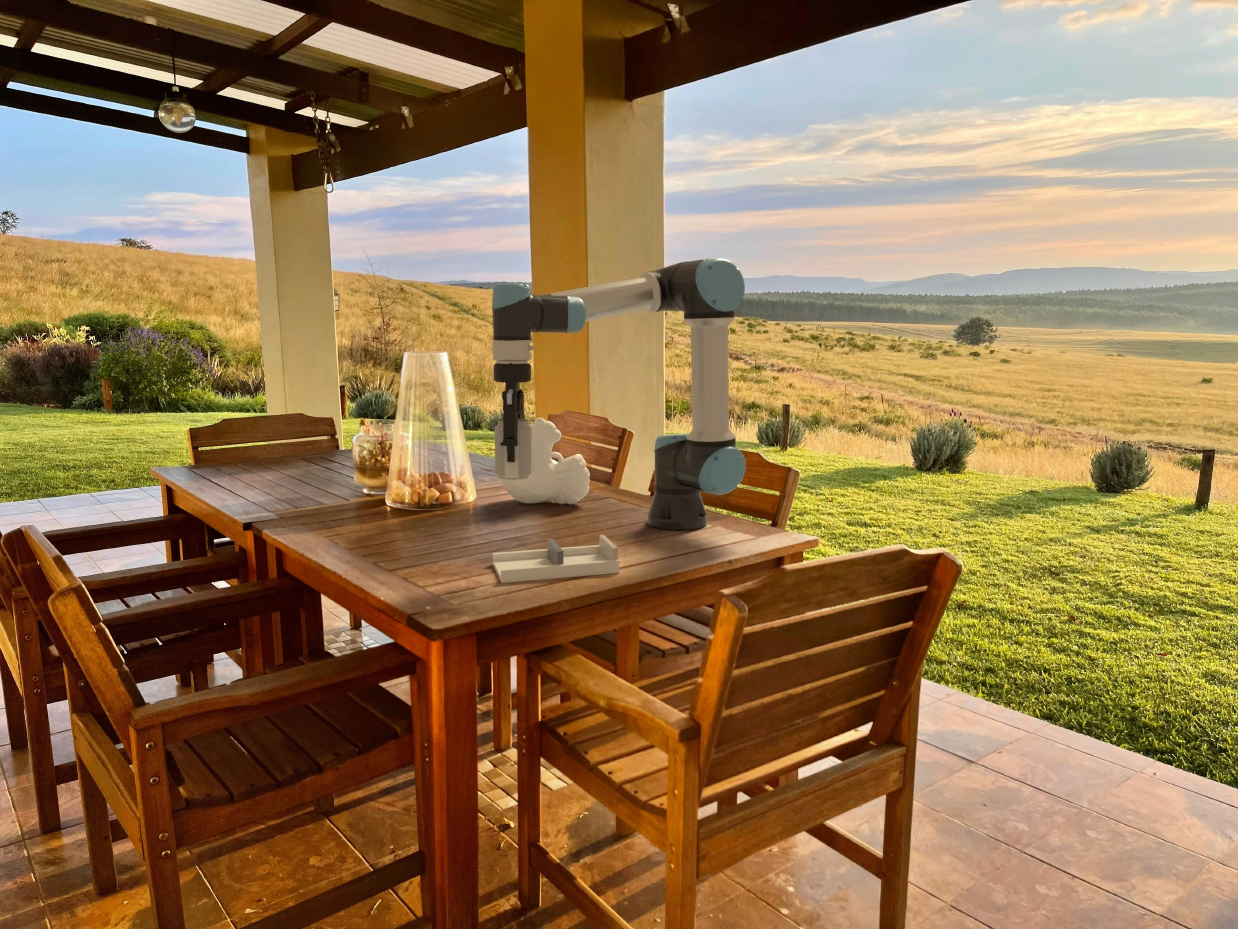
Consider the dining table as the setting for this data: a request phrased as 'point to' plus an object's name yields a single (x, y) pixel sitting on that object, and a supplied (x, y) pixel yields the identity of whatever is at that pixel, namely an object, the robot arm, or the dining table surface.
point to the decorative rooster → (550, 471)
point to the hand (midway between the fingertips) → (513, 474)
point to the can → (523, 449)
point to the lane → (574, 564)
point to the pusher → (554, 552)
